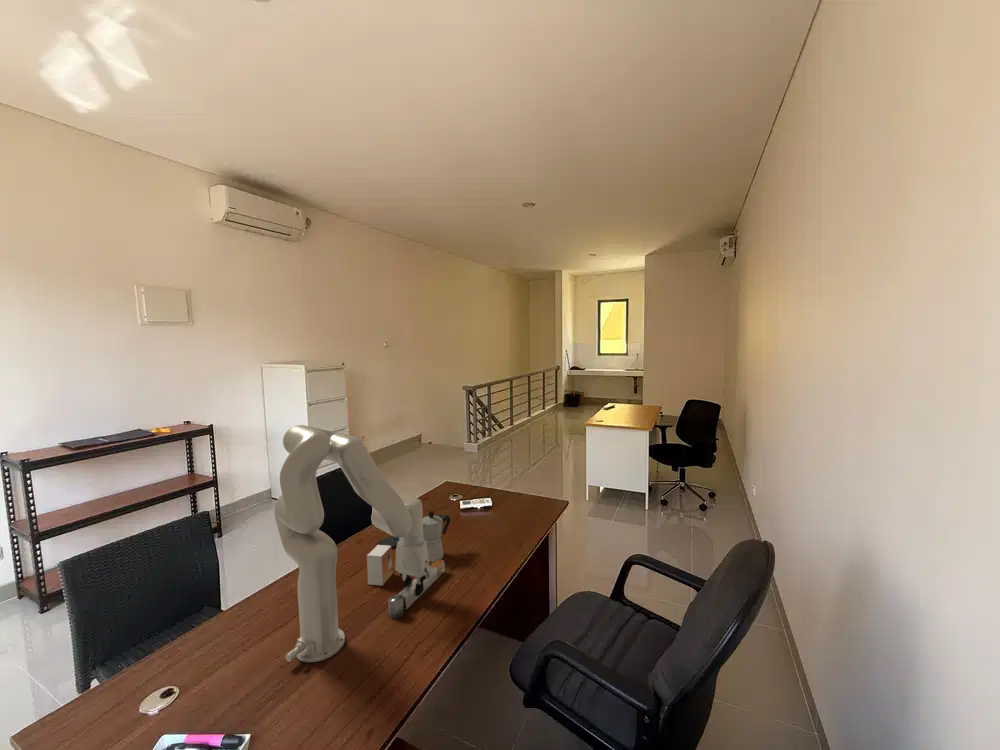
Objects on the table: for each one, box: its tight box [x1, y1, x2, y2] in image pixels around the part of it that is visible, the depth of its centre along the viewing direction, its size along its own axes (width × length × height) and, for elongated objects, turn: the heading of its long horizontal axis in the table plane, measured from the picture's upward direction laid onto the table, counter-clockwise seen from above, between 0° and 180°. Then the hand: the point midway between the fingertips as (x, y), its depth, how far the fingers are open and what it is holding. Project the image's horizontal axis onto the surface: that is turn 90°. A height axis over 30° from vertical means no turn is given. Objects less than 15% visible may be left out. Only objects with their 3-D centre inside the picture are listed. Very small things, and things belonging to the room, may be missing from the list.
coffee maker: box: [423, 509, 452, 563], centre depth 165 cm, size 15×9×18 cm, turn 131°
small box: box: [366, 544, 394, 586], centre depth 150 cm, size 8×6×10 cm
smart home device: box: [377, 535, 400, 550], centre depth 181 cm, size 8×2×20 cm
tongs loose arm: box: [402, 559, 446, 611], centre depth 144 cm, size 23×2×4 cm, turn 157°
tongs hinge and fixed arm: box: [387, 560, 440, 620], centre depth 142 cm, size 28×4×5 cm, turn 157°
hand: (414, 591), depth 140 cm, fingers open, 3 cm apart
